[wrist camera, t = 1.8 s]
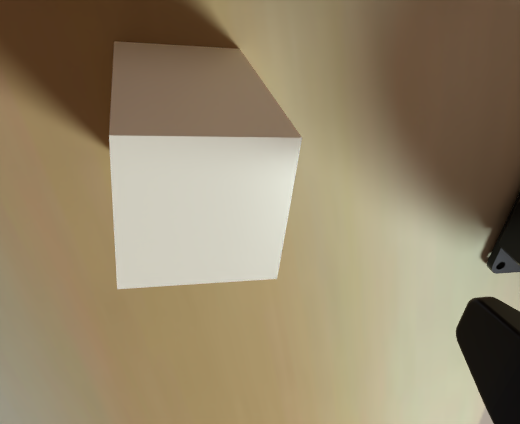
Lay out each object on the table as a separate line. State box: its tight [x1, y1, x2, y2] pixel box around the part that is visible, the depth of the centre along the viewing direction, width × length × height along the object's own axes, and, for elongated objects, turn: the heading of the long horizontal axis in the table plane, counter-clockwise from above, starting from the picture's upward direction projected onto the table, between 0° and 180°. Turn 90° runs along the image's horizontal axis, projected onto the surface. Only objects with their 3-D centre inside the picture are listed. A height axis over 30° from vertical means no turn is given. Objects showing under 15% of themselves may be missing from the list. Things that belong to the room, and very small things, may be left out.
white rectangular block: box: [109, 41, 302, 289], centre depth 14 cm, size 4×4×7 cm
